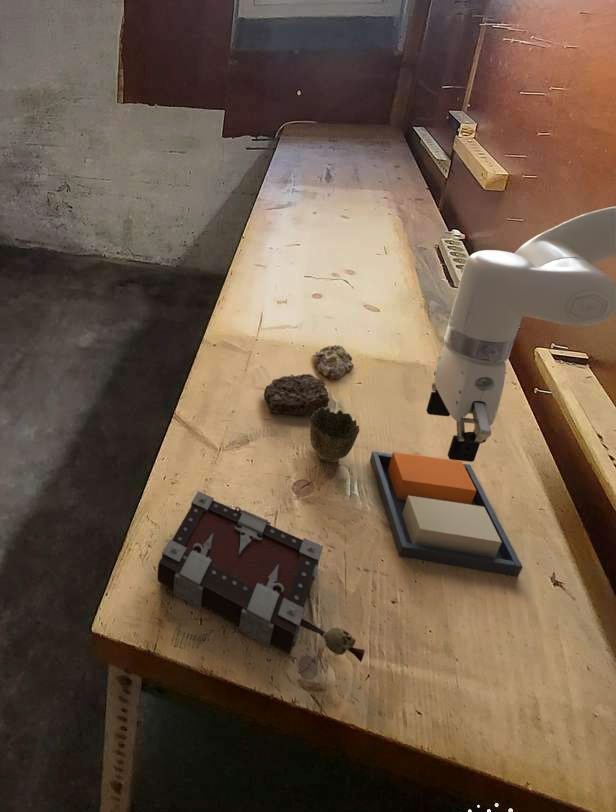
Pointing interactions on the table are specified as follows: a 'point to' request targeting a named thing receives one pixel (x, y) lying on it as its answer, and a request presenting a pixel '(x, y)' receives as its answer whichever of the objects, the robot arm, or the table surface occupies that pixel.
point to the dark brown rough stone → (296, 394)
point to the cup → (332, 434)
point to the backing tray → (394, 507)
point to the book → (246, 574)
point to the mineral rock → (333, 361)
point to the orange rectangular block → (430, 478)
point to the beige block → (450, 526)
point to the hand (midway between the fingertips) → (448, 435)
